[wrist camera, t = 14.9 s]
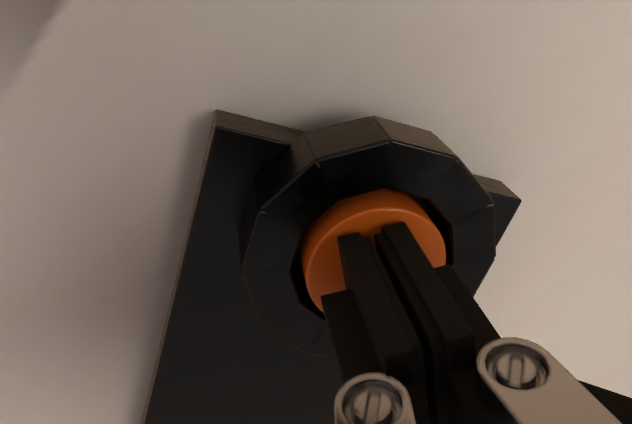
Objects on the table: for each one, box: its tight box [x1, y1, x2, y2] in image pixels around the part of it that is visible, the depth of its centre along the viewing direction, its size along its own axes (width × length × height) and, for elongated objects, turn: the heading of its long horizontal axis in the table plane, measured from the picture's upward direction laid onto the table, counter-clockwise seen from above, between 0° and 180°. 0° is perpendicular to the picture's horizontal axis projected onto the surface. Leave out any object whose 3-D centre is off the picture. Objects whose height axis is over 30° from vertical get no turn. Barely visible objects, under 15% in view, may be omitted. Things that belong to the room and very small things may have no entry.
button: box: [298, 189, 446, 313], centre depth 13 cm, size 4×4×2 cm
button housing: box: [142, 110, 521, 424], centre depth 16 cm, size 17×9×3 cm, turn 162°
